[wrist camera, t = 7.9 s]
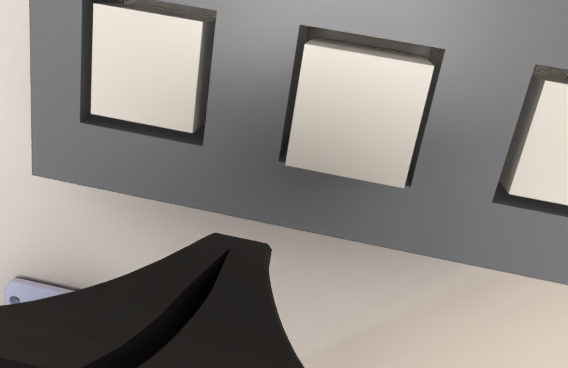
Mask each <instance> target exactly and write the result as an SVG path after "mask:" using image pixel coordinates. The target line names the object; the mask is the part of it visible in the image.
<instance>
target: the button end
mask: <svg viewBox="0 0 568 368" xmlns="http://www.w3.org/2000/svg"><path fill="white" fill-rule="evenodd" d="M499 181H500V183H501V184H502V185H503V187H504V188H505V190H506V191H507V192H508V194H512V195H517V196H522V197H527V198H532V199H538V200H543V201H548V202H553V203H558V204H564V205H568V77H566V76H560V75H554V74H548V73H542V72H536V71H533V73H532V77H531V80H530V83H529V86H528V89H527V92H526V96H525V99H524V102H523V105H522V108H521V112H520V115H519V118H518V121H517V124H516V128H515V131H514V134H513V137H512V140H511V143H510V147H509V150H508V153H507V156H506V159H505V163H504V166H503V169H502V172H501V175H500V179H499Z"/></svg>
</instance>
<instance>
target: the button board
mask: <svg viewBox="0 0 568 368" xmlns="http://www.w3.org/2000/svg"><path fill="white" fill-rule="evenodd" d="M157 1H163V2H169V3H175V4H181V5H187V6H193V7H199V8H204V9H210V10H216V11H217V14H216V24H215V34H214V44H213V53H212V63H211V73H210V83H209V92H208V102H207V112H206V122H205V124H204V125H203V126H201V127H200V128H199V129H197V130H196V131H195V132H193V133H189V132H184V131H178V130H173V129H168V128H163V127H158V126H152V125H147V124H142V123H137V122H132V121H126V120H121V119H116V118H111V117H105V116H100V115H95V114H91V82H92V42H93V3H123V0H29V10H30V75H31V140H32V175H34V176H39V177H44V178H49V179H54V180H59V181H64V182H69V183H73V184H78V185H83V186H88V187H93V188H98V189H103V190H108V191H112V192H117V193H122V194H127V195H132V196H137V197H142V198H146V199H151V200H156V201H161V202H166V203H171V204H176V205H181V206H185V207H190V208H195V209H200V210H205V211H210V212H215V213H220V214H224V215H229V216H234V217H239V218H244V219H249V220H254V221H258V222H263V223H268V224H273V225H278V226H283V227H288V228H293V229H297V230H302V231H307V232H312V233H317V234H322V235H327V236H332V237H336V238H341V239H346V240H351V241H356V242H361V243H366V244H370V245H375V246H380V247H385V248H390V249H395V250H400V251H405V252H409V253H414V254H419V255H424V256H429V257H434V258H439V259H444V260H448V261H453V262H458V263H463V264H468V265H473V266H478V267H482V268H487V269H492V270H497V271H502V272H507V273H512V274H517V275H521V276H526V277H531V278H536V279H541V280H546V281H551V282H556V283H560V284H565V285H568V205H564V204H558V203H553V202H548V201H543V200H538V199H532V198H527V197H522V196H517V195H512V194H508V192H507V191H506V190H505V188H504V187H503V185H502V184H501V183H500V181H499V179H500V175H501V172H502V169H503V166H504V163H505V159H506V156H507V153H508V150H509V147H510V143H511V140H512V137H513V134H514V131H515V128H516V124H517V121H518V118H519V115H520V112H521V108H522V105H523V102H524V99H525V96H526V92H527V89H528V86H529V83H530V80H531V77H532V73H533V70H534V67H535V64H536V65H542V66H548V67H554V68H560V69H566V70H568V0H157ZM309 26H311V27H317V28H323V29H329V30H335V31H341V32H347V33H353V34H359V35H364V36H370V37H376V38H382V39H388V40H394V41H400V42H406V43H412V44H418V45H424V46H430V47H433V48H432V52H431V56H430V60H429V61H430V62H431V63H432V64H433V65H434V70H433V74H432V78H431V82H430V86H429V90H428V94H427V98H426V102H425V106H424V110H423V114H422V118H421V122H420V126H419V130H418V134H417V138H416V142H415V146H414V150H413V154H412V158H411V163H410V167H409V171H408V175H407V179H406V183H405V187H404V188H400V187H394V186H389V185H384V184H379V183H374V182H369V181H364V180H358V179H353V178H348V177H343V176H338V175H333V174H328V173H322V172H317V171H312V170H307V169H302V168H297V167H292V166H286V165H285V163H286V157H287V151H288V145H289V138H290V132H291V126H292V120H293V114H294V107H295V101H296V95H297V89H298V83H299V76H300V70H301V64H302V58H303V52H304V45H305V43H307V37H308V31H309Z"/></svg>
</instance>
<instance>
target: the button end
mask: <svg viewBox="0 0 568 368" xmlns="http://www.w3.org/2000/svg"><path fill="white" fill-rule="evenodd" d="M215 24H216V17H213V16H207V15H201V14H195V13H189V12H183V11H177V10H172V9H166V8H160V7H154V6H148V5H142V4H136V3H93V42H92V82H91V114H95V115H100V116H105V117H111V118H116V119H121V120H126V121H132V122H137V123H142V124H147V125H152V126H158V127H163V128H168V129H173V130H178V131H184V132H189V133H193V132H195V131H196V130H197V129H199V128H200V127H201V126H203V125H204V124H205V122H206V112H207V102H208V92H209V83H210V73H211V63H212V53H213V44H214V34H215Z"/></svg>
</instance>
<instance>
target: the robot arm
mask: <svg viewBox="0 0 568 368" xmlns="http://www.w3.org/2000/svg"><path fill="white" fill-rule="evenodd" d="M271 251H272V249H271V248H270V246H269V245H268V244H266V243H262V242H257V241H252V240H247V239H243V238H238V237H233V236H228V235H223V234H219V233H213V234H210V235H208V236H206V237H204V238H202V239H200V240H198V241H197V242H195V243H193V244H191V245H189V246H187V247H185V248H183V249H181V250H179V251H177V252H175V253H173V254H171V255H169V256H167V257H165V258H163V259H161V260H159V261H157V262H154V263H152V264H150V265H147V266H145V267H143V268H140V269H138V270H136V271H133V272H131V273H129V274H126V275H124V276H121V277H118V278H116V279H113V280H110V281H107V282H104V283H101V284H97V285H94V286H91V287H88V288H84V289H81V290H77V291H73V290H68V289H64V288H60V287H55V286H51V285H46V284H42V283H37V282H33V281H28V280H24V279H20V278H15V279H12V280H11V281H9V282H8V283H7V284H6V287H5V300H6V305H3V306H0V368H304V366H303V365H302V363H301V362H300V360H299V358H298V357H297V355H296V353H295V351H294V349H293V348H292V346H291V344H290V342H289V340H288V337H287V335H286V333H285V331H284V328H283V326H282V323H281V321H280V318H279V315H278V312H277V309H276V305H275V302H274V298H273V294H272V289H271V283H270V278H269V263H270V257H271ZM15 296H16V297H18V298H19V300H20V301H19V300H17V299H16V297H15Z"/></svg>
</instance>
